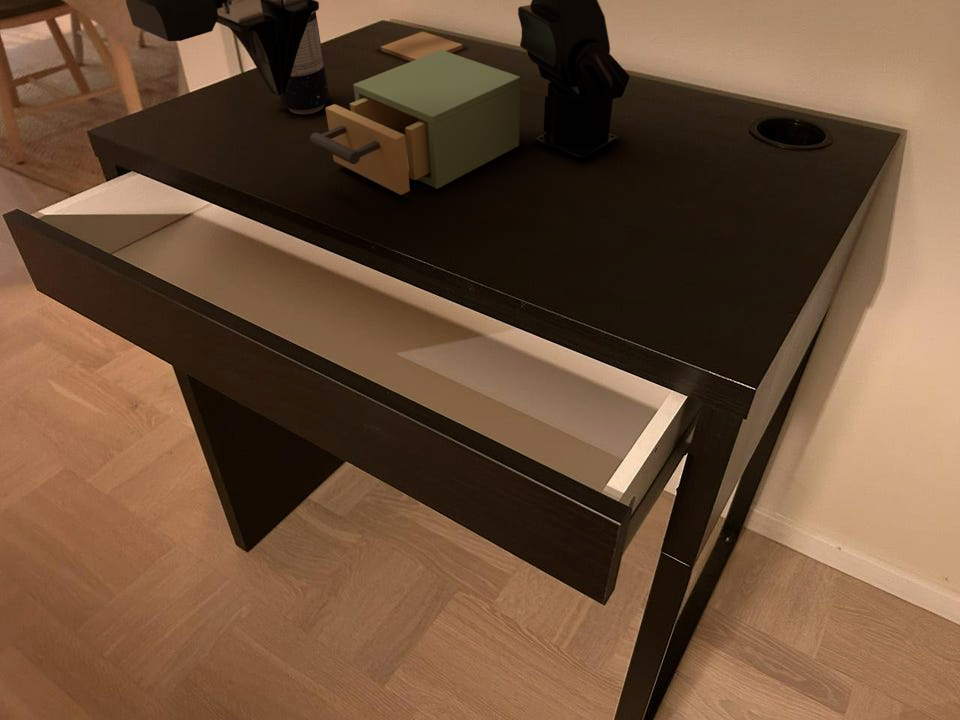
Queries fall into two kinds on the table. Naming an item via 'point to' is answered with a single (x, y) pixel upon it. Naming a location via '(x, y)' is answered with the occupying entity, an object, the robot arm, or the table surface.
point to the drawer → (377, 143)
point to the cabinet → (453, 109)
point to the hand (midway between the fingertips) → (279, 93)
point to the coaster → (420, 46)
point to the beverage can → (307, 74)
